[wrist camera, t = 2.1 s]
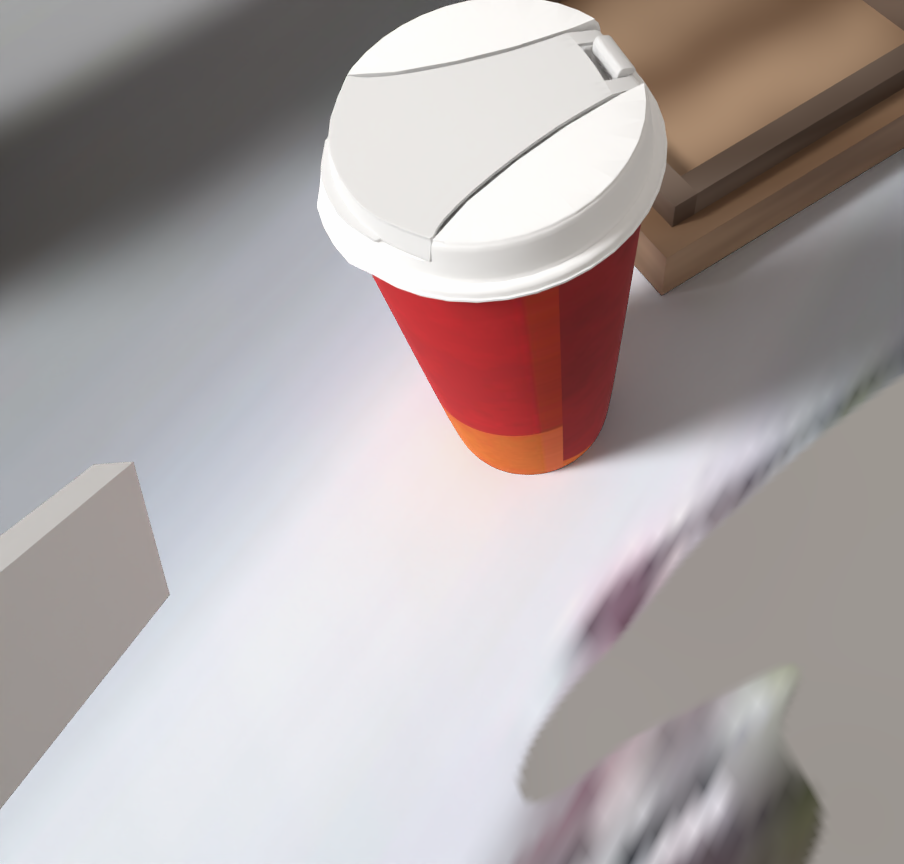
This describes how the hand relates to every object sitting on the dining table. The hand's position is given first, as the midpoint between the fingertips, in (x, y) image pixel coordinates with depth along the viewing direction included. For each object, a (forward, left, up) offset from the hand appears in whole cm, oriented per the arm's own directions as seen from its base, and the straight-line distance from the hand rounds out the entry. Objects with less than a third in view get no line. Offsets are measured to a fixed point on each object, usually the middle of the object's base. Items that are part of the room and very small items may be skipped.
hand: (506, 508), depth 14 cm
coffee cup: (-8, +4, -15) cm, 18 cm away
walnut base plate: (-17, +19, -15) cm, 30 cm away
